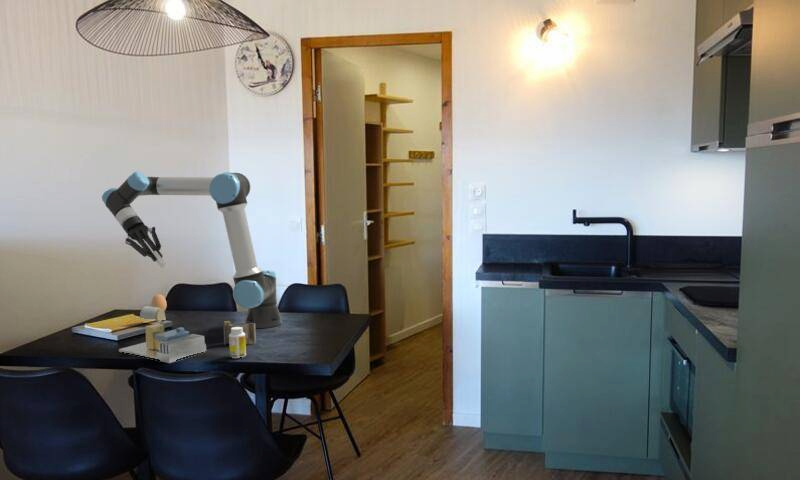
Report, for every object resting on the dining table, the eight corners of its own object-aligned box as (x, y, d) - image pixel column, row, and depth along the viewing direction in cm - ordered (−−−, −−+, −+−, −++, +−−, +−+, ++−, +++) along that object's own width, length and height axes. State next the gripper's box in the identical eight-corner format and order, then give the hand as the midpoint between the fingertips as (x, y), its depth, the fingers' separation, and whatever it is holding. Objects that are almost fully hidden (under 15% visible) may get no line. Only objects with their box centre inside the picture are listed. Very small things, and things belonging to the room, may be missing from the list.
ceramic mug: (157, 326, 278) (156, 308, 277) (139, 325, 279) (138, 307, 279) (170, 321, 288) (170, 303, 288) (153, 320, 290) (152, 303, 289)
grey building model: (119, 351, 239) (117, 330, 238) (156, 341, 252) (155, 321, 251) (169, 363, 224) (168, 340, 223) (206, 351, 237) (205, 330, 236)
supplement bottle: (246, 353, 234) (245, 325, 233) (245, 358, 228) (244, 329, 227) (230, 354, 233) (229, 326, 232) (229, 359, 227) (228, 330, 226)
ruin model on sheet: (224, 346, 246) (223, 320, 245) (225, 344, 249) (224, 319, 248) (254, 345, 247) (254, 319, 246) (255, 343, 250) (254, 318, 249)
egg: (149, 313, 303) (148, 294, 302) (163, 311, 308) (162, 292, 307) (155, 315, 298) (154, 296, 297) (169, 313, 303) (168, 294, 302)
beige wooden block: (146, 347, 239) (145, 326, 238) (158, 344, 243) (156, 323, 242) (166, 352, 233) (164, 329, 232) (177, 348, 237) (176, 326, 236)
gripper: (144, 220, 270) (176, 263, 264) (114, 232, 261) (147, 277, 256) (145, 209, 264) (179, 253, 259) (115, 222, 256) (148, 267, 251)
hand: (163, 265), depth 258 cm, fingers closed
